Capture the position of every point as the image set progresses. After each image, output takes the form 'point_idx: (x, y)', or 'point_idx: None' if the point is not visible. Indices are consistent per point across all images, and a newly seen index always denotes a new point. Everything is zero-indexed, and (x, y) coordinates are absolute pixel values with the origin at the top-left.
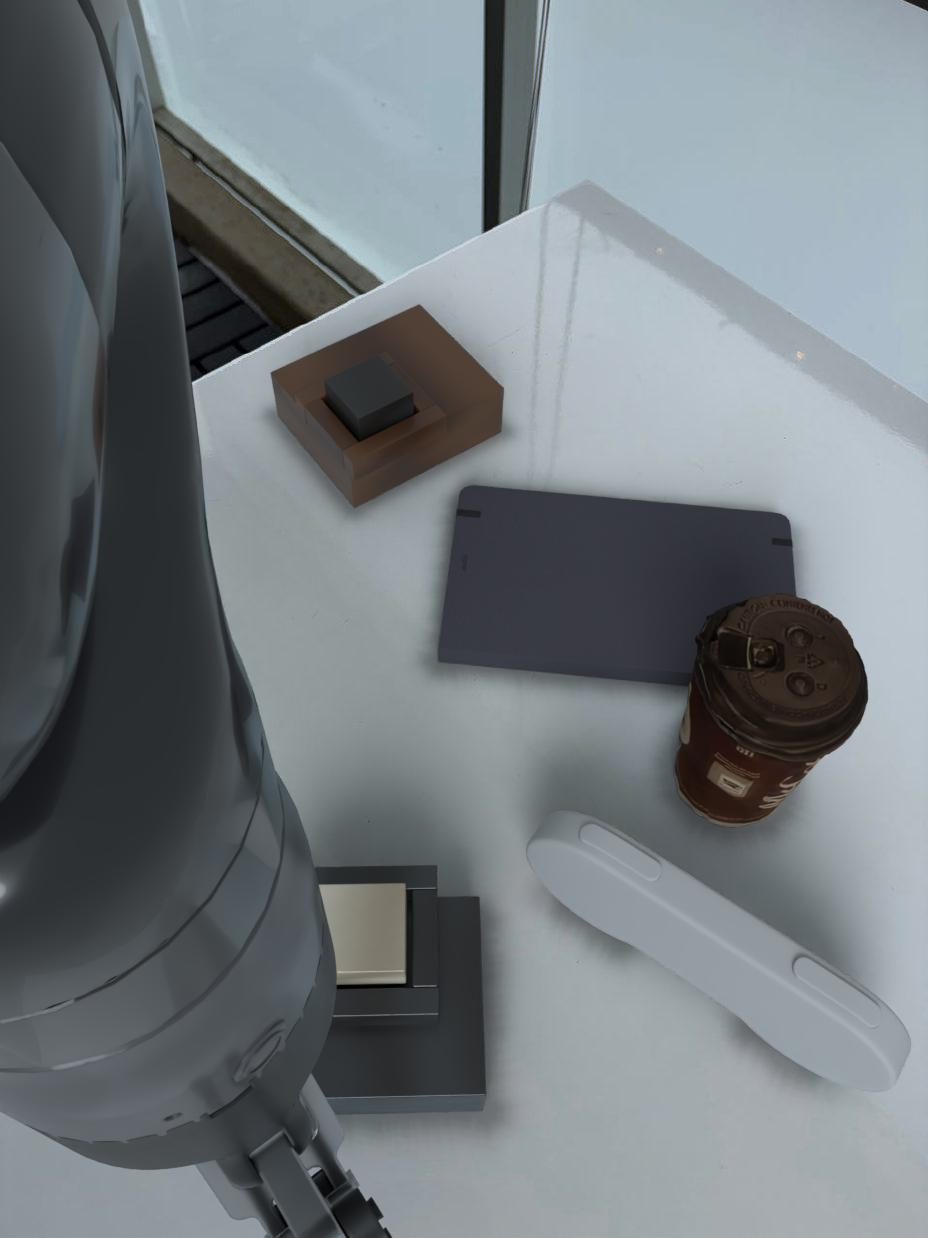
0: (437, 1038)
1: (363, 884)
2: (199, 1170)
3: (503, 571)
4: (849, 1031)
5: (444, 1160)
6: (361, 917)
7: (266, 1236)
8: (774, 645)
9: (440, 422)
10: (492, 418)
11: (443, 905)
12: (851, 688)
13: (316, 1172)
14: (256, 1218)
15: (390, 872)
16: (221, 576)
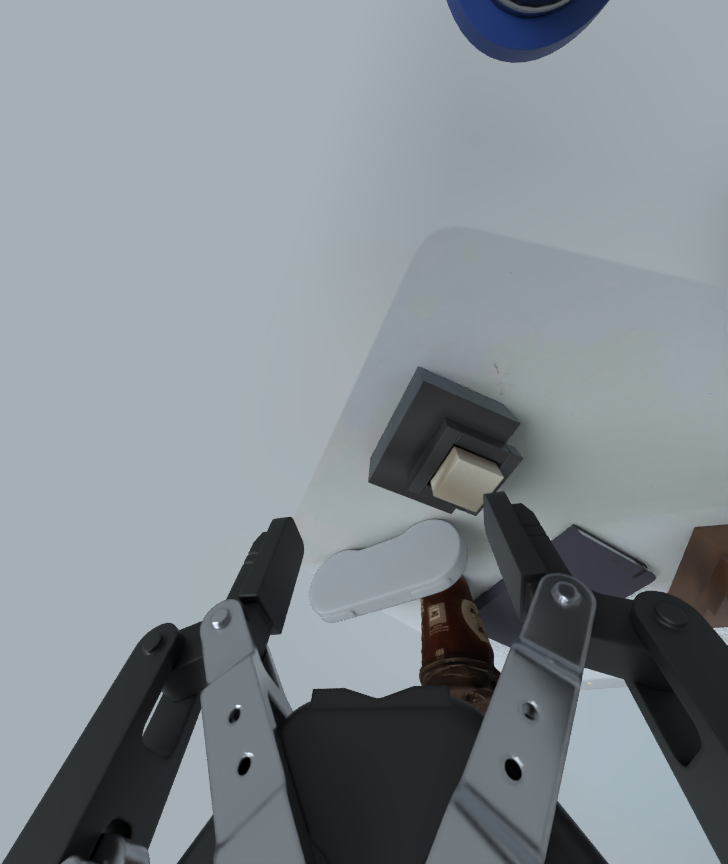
0: (401, 475)
1: None
2: (212, 797)
3: (595, 571)
4: (324, 610)
5: (359, 437)
6: (472, 489)
7: (221, 623)
8: (474, 702)
9: (712, 609)
10: None
11: None
12: None
13: (275, 626)
14: (207, 684)
15: None
16: (725, 453)
